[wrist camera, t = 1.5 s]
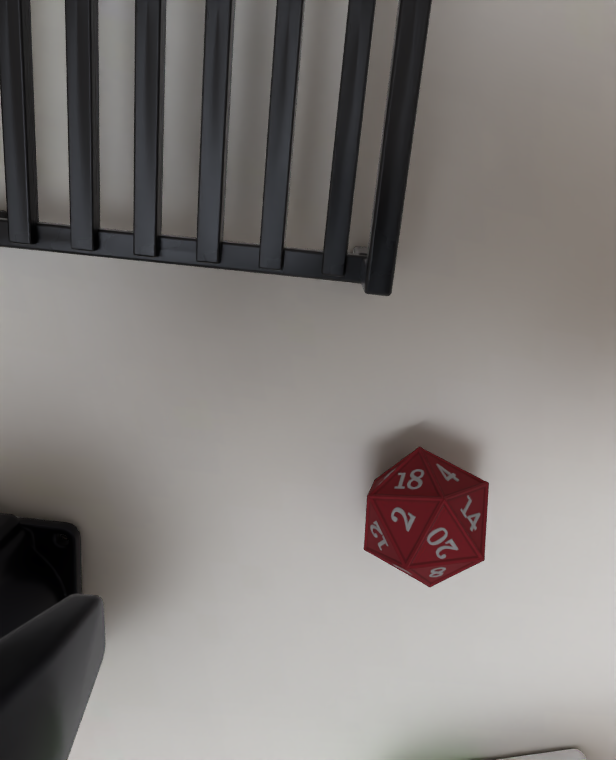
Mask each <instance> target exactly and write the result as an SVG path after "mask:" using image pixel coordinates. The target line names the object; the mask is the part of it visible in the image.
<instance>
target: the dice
mask: <svg viewBox="0 0 616 760" xmlns="http://www.w3.org/2000/svg"><path fill="white" fill-rule="evenodd" d="M488 488H489V483H488V482H486V481H484V480H482V479H480V478H478V477H476V476H474V475H472V474H470V473H468V472H467V471H465V470H463V469H461V468H459V467H457V466H455V465H453V464H451V463H449V462H448V461H446V460H444V459H442V458H440V457H438V456H436V455H434V454H432V453H430V452H429V451H427V450H425V449H423V448H422V447H418V448H417V449H416V450H414V451H413V452H412V453H410V454H409V455H408V456H406V457H405V458H404V459H402V460H401V461H400V462H398V463H397V464H395V465H394V466H393V467H391V468H390V469H389V470H387V471H386V472H385V473H383V474H382V475H381V476H379V477H378V478H377V479H375V480H374V483H373V485H372V487H371V489H370V491H369V493H368V495H367V508H366V524H365V541H364V550H365V551H367V552H369V553H371V554H373V555H374V556H376V557H378V558H380V559H381V560H383V561H385V562H387V563H388V564H390V565H392V566H394V567H395V568H397V569H399V570H401V571H402V572H404V573H406V574H408V575H409V576H411V577H413V578H415V579H416V580H418V581H420V582H422V583H423V584H425V585H427V586H428V587H432V586H433V585H435V584H437V583H439V582H441V581H443V580H445V579H447V578H449V577H451V576H453V575H455V574H457V573H459V572H461V571H463V570H465V569H468V568H470V567H472V566H474V565H476V564H478V563H480V562H482V561H484V560H485V538H486V522H487V505H488Z"/></svg>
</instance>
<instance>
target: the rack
mask: <svg viewBox="0 0 616 760" xmlns="http://www.w3.org/2000/svg"><path fill="white" fill-rule="evenodd" d="M375 4H376V0H349V4H348V13H347V23H346V33H345V43H344V53H343V62H342V72H341V82H340V92H339V102H338V112H337V121H336V131H335V141H334V151H333V161H332V171H331V180H330V190H329V200H328V210H327V220H326V229H325V239H324V249H323V251H322V250H312V249H302V248H293V247H285V238H286V226H287V214H288V202H289V190H290V178H291V166H292V153H293V141H294V129H295V117H296V105H297V93H298V81H299V69H300V57H301V44H302V32H303V20H304V8H305V0H277V6H276V20H275V35H274V49H273V63H272V78H271V92H270V106H269V120H268V135H267V149H266V163H265V178H264V192H263V206H262V220H261V235H260V244H253V243H243V242H233V241H224V240H223V231H224V212H225V192H226V173H227V154H228V134H229V115H230V96H231V76H232V57H233V38H234V18H235V0H206V6H205V32H204V58H203V84H202V110H201V136H200V162H199V188H198V214H197V238H194V237H184V236H174V235H164V234H161V228H162V181H163V134H164V87H165V40H166V0H135V91H134V224H133V231H125V230H115V229H105V228H100V163H99V50H98V0H65V24H66V66H67V109H68V151H69V194H70V225H66V224H56V223H46V222H39V215H38V190H37V164H36V138H35V112H34V87H33V61H32V35H31V10H30V0H0V91H1V109H2V128H3V146H4V165H5V183H6V201H7V213H6V212H5V211H1V210H0V247H9V248H19V249H29V250H39V251H48V252H58V253H68V254H78V255H88V256H97V257H107V258H117V259H127V260H137V261H146V262H156V263H166V264H176V265H186V266H195V267H205V268H215V269H225V270H235V271H244V272H254V273H264V274H274V275H284V276H293V277H303V278H313V279H323V280H332V281H342V282H352V283H361V284H362V287H363V289H364V292H365V293H366V294H372V295H382V296H390V295H391V293H392V285H393V278H394V271H395V264H396V256H397V249H398V242H399V235H400V228H401V220H402V213H403V206H404V199H405V191H406V184H407V177H408V170H409V163H410V155H411V148H412V141H413V134H414V126H415V119H416V112H417V105H418V98H419V90H420V83H421V76H422V69H423V62H424V54H425V47H426V40H427V33H428V25H429V18H430V11H431V4H432V0H399V3H398V11H397V19H396V27H395V35H394V43H393V51H392V59H391V67H390V75H389V83H388V91H387V99H386V108H385V116H384V124H383V132H382V140H381V148H380V156H379V164H378V172H377V180H376V188H375V196H374V204H373V212H372V221H371V229H370V237H369V245H368V248H366V247H355V248H354V252H353V254H352V253H347V250H348V242H349V233H350V224H351V215H352V206H353V198H354V189H355V180H356V171H357V162H358V154H359V145H360V136H361V127H362V118H363V110H364V101H365V92H366V83H367V75H368V66H369V57H370V48H371V39H372V31H373V22H374V13H375Z"/></svg>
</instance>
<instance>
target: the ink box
mask: <svg viewBox="0 0 616 760" xmlns="http://www.w3.org/2000/svg"><path fill="white" fill-rule="evenodd" d="M498 760H587V759H586V757H585V755H584V754H583V753H582V752H581V751H580V750H578V749H568V750H560V751H553V752H546V753H539V754H532V755H525V756H518V757H511V758H504V759H498Z"/></svg>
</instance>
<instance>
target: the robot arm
mask: <svg viewBox="0 0 616 760" xmlns="http://www.w3.org/2000/svg"><path fill="white" fill-rule="evenodd" d="M60 534H62V535H65V536H66V537H67V538H68V540H69V541H66V540H63V539H62V538H61V536H60ZM104 651H105V623H104V604H103V600H102V598H101V597H99V596H98V595H87V594H82V587H81V541H80V532H79V530H78V529H77V527H76V526H74V525H73V524H70V523H67V522H58V521H49V520H40V519H31V518H21V517H16V516H14V515H12V514H3V513H0V760H67V759H68V756H69V753H70V751H71V748H72V745H73V742H74V739H75V737H76V734H77V731H78V728H79V725H80V722H81V720H82V717H83V714H84V711H85V708H86V705H87V703H88V700H89V697H90V694H91V691H92V689H93V686H94V683H95V680H96V677H97V674H98V672H99V669H100V666H101V663H102V660H103V656H104Z"/></svg>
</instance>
